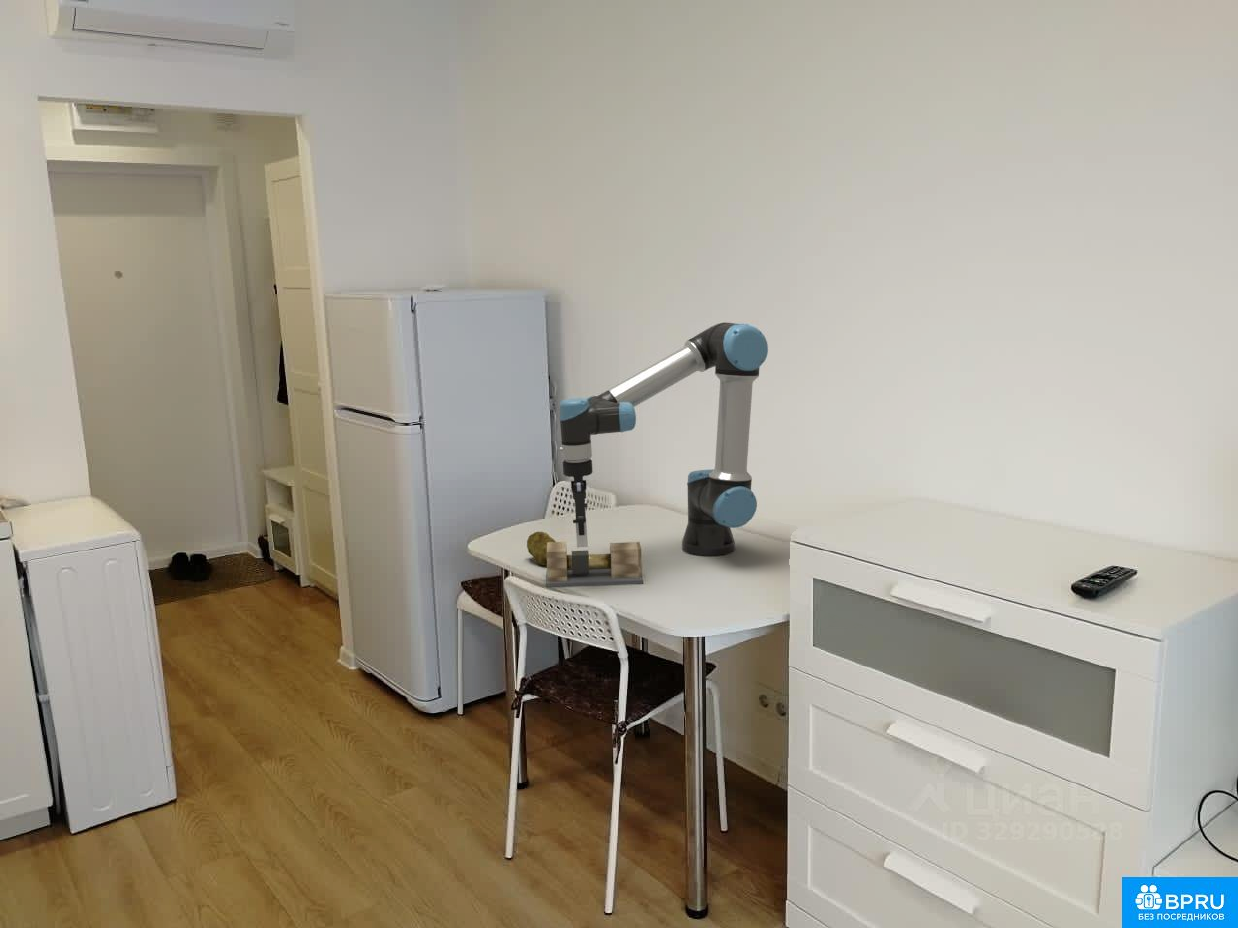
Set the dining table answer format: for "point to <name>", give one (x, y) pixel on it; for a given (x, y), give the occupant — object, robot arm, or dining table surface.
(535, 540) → the potato
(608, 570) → the board
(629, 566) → the sleeve
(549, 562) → the socket
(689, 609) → the dining table surface
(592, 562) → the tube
